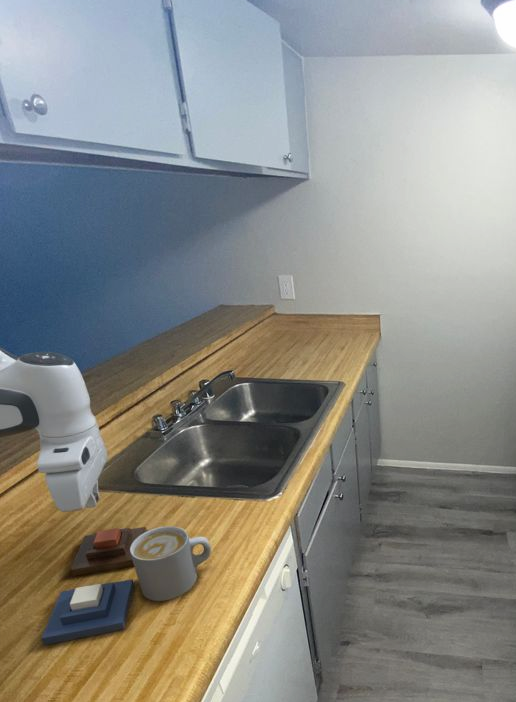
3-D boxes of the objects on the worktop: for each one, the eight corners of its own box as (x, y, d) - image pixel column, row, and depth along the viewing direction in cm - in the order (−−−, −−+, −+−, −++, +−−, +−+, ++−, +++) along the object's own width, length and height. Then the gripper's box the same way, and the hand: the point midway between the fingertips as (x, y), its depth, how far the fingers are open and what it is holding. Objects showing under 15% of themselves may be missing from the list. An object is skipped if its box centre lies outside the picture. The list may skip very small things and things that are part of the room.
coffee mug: (140, 606, 88) (127, 565, 83) (143, 571, 96) (132, 532, 91) (216, 588, 92) (208, 548, 88) (213, 556, 100) (206, 518, 96)
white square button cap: (72, 611, 82) (69, 604, 81) (78, 595, 86) (75, 587, 85) (98, 606, 83) (95, 599, 83) (103, 590, 87) (101, 583, 86)
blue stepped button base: (44, 645, 79) (37, 630, 78) (63, 598, 89) (58, 584, 87) (124, 629, 83) (119, 615, 81) (134, 585, 92) (130, 571, 91)
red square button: (95, 549, 96) (93, 542, 96) (100, 537, 100) (97, 530, 99) (117, 546, 98) (115, 539, 97) (121, 534, 101) (119, 527, 100)
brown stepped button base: (72, 576, 94) (67, 562, 92) (86, 541, 103) (82, 529, 101) (139, 565, 97) (135, 551, 96) (147, 532, 106) (144, 520, 105)
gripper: (69, 419, 94) (88, 478, 100) (32, 470, 76) (58, 537, 83) (105, 416, 95) (122, 474, 102) (77, 465, 78) (99, 532, 85)
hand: (93, 503), depth 92 cm, fingers closed
